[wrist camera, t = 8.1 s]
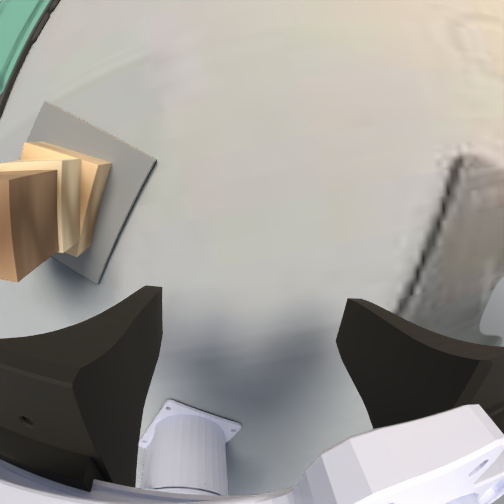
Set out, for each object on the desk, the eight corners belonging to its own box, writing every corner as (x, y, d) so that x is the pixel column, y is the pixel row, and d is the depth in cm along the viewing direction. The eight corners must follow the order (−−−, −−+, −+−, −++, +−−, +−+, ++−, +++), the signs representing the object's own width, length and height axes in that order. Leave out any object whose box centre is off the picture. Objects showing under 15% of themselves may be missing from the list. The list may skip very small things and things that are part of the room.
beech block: (80, 239, 17) (63, 252, 14) (21, 235, 16) (0, 246, 14) (81, 158, 15) (62, 160, 13) (19, 160, 15) (-3, 163, 12)
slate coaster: (99, 280, 21) (96, 284, 20) (5, 220, 18) (1, 222, 18) (157, 159, 19) (155, 159, 18) (48, 102, 16) (44, 101, 16)
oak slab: (90, 245, 19) (76, 257, 17) (26, 220, 18) (9, 228, 16) (112, 163, 18) (98, 165, 16) (43, 141, 17) (24, 142, 14)
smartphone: (-48, 104, 13) (29, -43, 10) (-40, 105, 15) (35, -38, 11) (-6, 122, 15) (84, -44, 11) (3, 122, 16) (89, -37, 13)
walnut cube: (59, 250, 14) (17, 282, 10) (4, 244, 14) (-40, 271, 10) (57, 169, 13) (9, 180, 9) (0, 171, 12) (-49, 182, 8)
